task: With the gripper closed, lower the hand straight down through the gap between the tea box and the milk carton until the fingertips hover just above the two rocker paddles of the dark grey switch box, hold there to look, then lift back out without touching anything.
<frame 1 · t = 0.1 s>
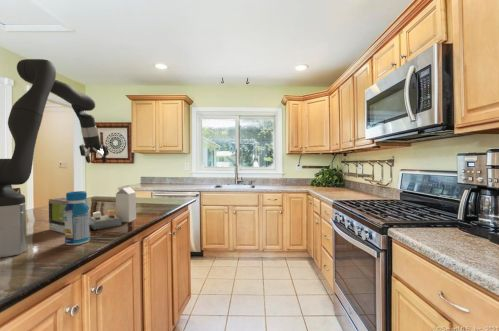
hand: (96, 162, 149), 31 cm above the worktop, tool tilted 20°, fingers open, 8 cm apart
milk carton: (126, 221, 141), on the worktop
blue plastic bottle: (77, 242, 104), on the worktop
switch box: (104, 225, 132), on the worktop
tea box: (67, 229, 125), on the worktop
paddle orange: (111, 212, 134), point 6 cm above the worktop, hinge at 8.0°
paddle white: (97, 214, 130), point 6 cm above the worktop, hinge at -8.0°
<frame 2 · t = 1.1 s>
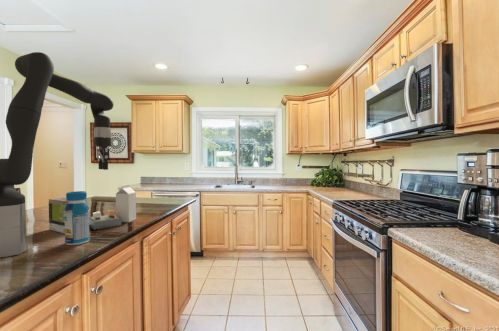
hand: (103, 169, 132), 28 cm above the worktop, tool pointing down, fingers open, 8 cm apart
nothing on the worktop moved.
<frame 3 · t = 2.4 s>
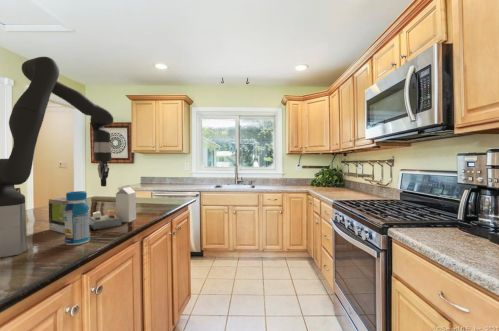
hand: (103, 186, 132), 20 cm above the worktop, tool pointing down, fingers closed
nothing on the worktop moved.
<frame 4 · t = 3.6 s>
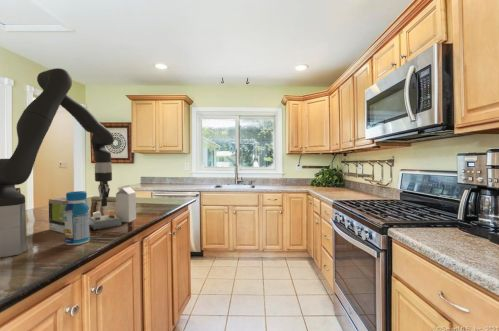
hand: (104, 206, 132), 10 cm above the worktop, tool pointing down, fingers closed
nothing on the worktop moved.
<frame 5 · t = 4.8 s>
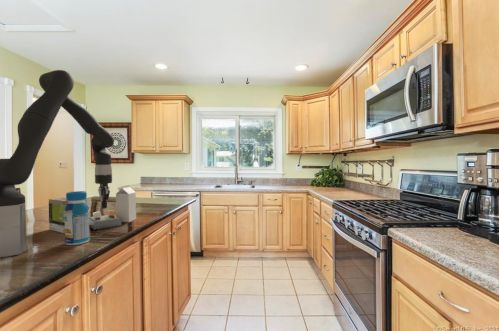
hand: (104, 208, 132), 8 cm above the worktop, tool pointing down, fingers closed
nothing on the worktop moved.
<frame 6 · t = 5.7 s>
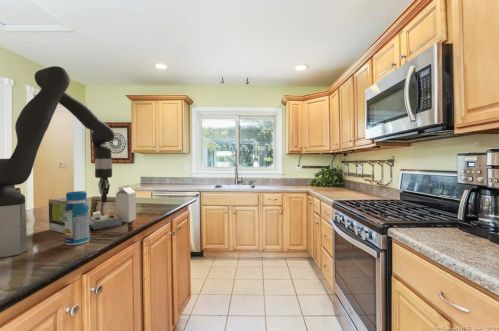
hand: (104, 202, 132), 11 cm above the worktop, tool pointing down, fingers closed
nothing on the worktop moved.
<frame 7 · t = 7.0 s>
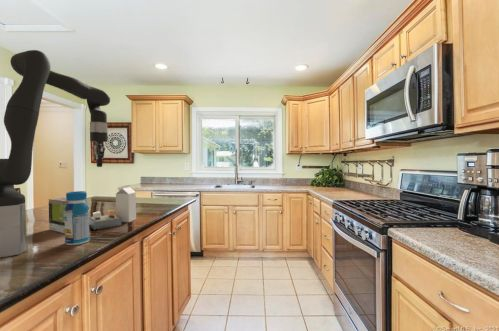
hand: (99, 166, 131), 29 cm above the worktop, tool pointing down, fingers closed
nothing on the worktop moved.
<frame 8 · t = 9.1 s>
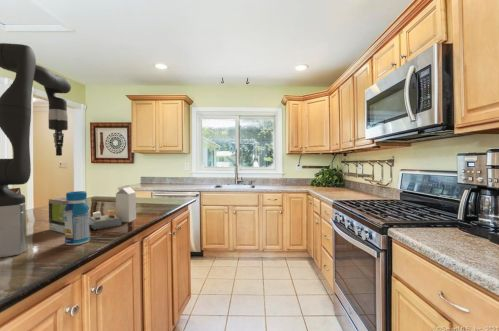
hand: (59, 155, 128), 35 cm above the worktop, tool pointing down, fingers closed
nothing on the worktop moved.
at the end: paddle orange at +8° (first picture: +8°); paddle white at -8° (first picture: -8°); milk carton moved 0.2 cm from its start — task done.
